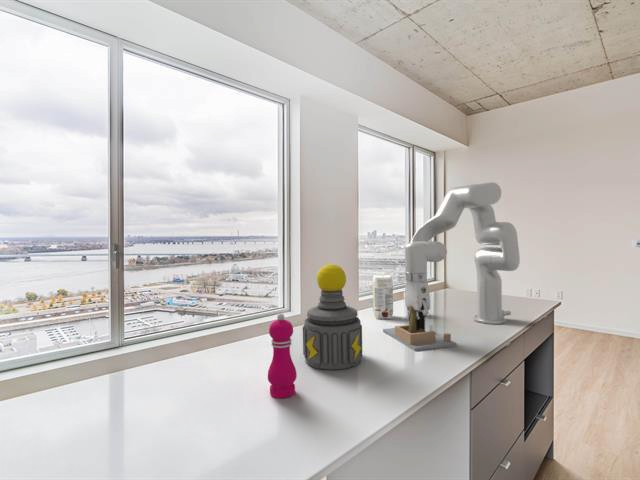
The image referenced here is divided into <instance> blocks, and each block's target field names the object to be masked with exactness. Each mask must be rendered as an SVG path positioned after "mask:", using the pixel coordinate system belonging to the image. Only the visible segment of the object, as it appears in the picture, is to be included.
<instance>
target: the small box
mask: <svg viewBox="0 0 640 480" xmlns="http://www.w3.org/2000/svg"><path fill="white" fill-rule="evenodd" d="M403 313H404V315H405V316H406V317H407V318H409V315H408V309H407V307H406V304H405V291H403Z"/></svg>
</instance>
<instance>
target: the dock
mask: <svg viewBox="0 0 640 480" xmlns="http://www.w3.org/2000/svg"><path fill="white" fill-rule="evenodd" d="M382 329H383V330H382V332H383V333H384V334H386V335H388V336H390V337H391V338H393V339H394V340H396V341H398V342H399V343H401V345H402V344H403V345H404V346H405V347H408V348H409V349H411V350H413V351H414V352H418V351H424V350H425V351H426V349H427V350H434V348H435V349H442V348H443V347H444V348H450V347H457V342H455V341H453V340H452V339H451V338H452V337H451V335H452V334H451V333H448V332H447V333H443V336H442V335H440V334H438V333H437V332H436V331H435V330H433V331H429V332H426V331H425V332H420V333H410V332H409V324H405V325H404V324H403V325H395V326H394V327H391V328H382ZM444 348H443V349H444Z"/></svg>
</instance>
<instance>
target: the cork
mask: <svg viewBox="0 0 640 480" xmlns="http://www.w3.org/2000/svg"><path fill="white" fill-rule="evenodd" d="M420 310H423V308H420ZM409 311H410V312H411V315H410V323H409V322H408V325H409V332H410V333H420V332H425V329H424V330H423V329H422V328H420V329H419V330H416V319H417V314H416V310H415V309H414V308H413V306H412V305H410V306H409ZM420 313H422V312H419V314H420Z"/></svg>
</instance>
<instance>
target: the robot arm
mask: <svg viewBox="0 0 640 480" xmlns="http://www.w3.org/2000/svg"><path fill="white" fill-rule="evenodd" d="M501 197H502V189H501V186H500V185H499V184H498V183H496V182H493V181H491V182H483V183H474V184H466V185H462V186H454V187H451V188H450V189H448V191H447V192H446V193H445V195H444V197H443V199H442V201H441V203H440V205H439V207H438V209H437V211H436V213H435V214H434V216H432V217H431V218H430V219H429V220H428V221H426V222H425V223H423V224H422V225H421V226H420V227H419V228H418V229H417V230H416V231H415V233H414V234H413V236H412V238H411V240H410V242H408V243H406V244H405V246H404V267H405V268H404V269H405V270H404V275H405V276H404V277H405V279H404V281H405V286H404V287H405V288H404V292H405V304H406V307H407V309H408V315H409V317H408V324H409V323H410V315H411V312H410V311H409V306H410V305H412V306H413V308H414V309H415V310H416V314H417V319H416V330H419V329H420V328H422V329H423V330H424V329H425V322H426V321H425V320H426V316H427V315H428V314H429V313H430V312H429V311H430V309H431V299H430V296H431V295H430V287H429V283H428V263H438V262H441V261H443V260H444V259H445V258H446V257H447V253H448V250H447V247H446V245H445V244H444V243H442V242H439V241H432V239H433V238H434V237H437V236H438V235H441V234H443V233H445V232H448V231H450V230H452V229H454V228H455V227H456V226H457V224H458V222H459V219H460V217H461V216H462V213H463V212H464V210H465V209H469V211H470V213H471V216H472V220H473V222H472V223H473V229H474V235H475V236H474V237H475V239H476V242H477V243H478V244H480V245H483V246H485V247H480V248H478V249H477V250H476V252H475V253H474V256H473V257H474V264H475V268H476V279H477V281H476V282H477V283H476V289H477V290H476V293H477V295H476V296H477V298H476V299H477V302H476V303H477V305H476V306H477V307H476V308H477V309H476V310H477V313H476V314H477V315H474V316H473V320H474V321H475V322H478V323H481V324H489V325H502V324H505V323H507V319H506V318H505V316H511V314H512V312H511V311H510V310H503V307H502V306H503V304H502V302H503V299H502V298H503V296H502V293H503V291H502V290H503V289H502V288H503V287H502V285H503V283H502V282H503V281H502V278H501V276H500V273H499V272H498V271H503V272H513V271H515V270H517V269H518V268H519V267H520V262H521V261H520V259H521V257H520V248H519V247H520V246H519V239H518V231H517V229H516V227H515V225H514V224H513V223H512V222H509V221H497V220H496V214H495V210H494V208H493V206H492V205H494V204H497V203H498V202H499V201H500V199H501ZM430 240H431V241H430ZM486 245H487V246H486ZM489 246H491V247H489ZM492 246H493V247H492ZM494 246H495V247H494ZM496 246H497V247H496ZM498 246H500V247H498ZM420 308H423V310H420ZM419 312H422V313H420V314H419Z"/></svg>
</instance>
